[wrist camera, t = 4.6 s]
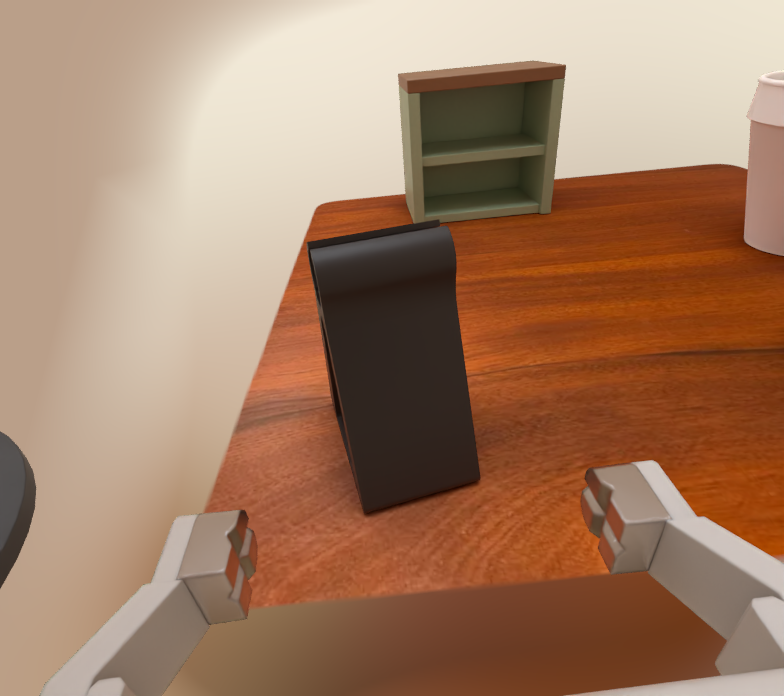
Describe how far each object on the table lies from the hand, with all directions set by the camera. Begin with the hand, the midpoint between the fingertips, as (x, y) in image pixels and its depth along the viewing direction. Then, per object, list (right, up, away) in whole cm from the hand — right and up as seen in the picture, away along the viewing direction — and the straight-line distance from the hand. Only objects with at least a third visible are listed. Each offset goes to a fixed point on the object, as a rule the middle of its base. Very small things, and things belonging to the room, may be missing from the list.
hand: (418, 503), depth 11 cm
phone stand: (0, -1, +16) cm, 16 cm away
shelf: (+10, +21, +48) cm, 54 cm away
